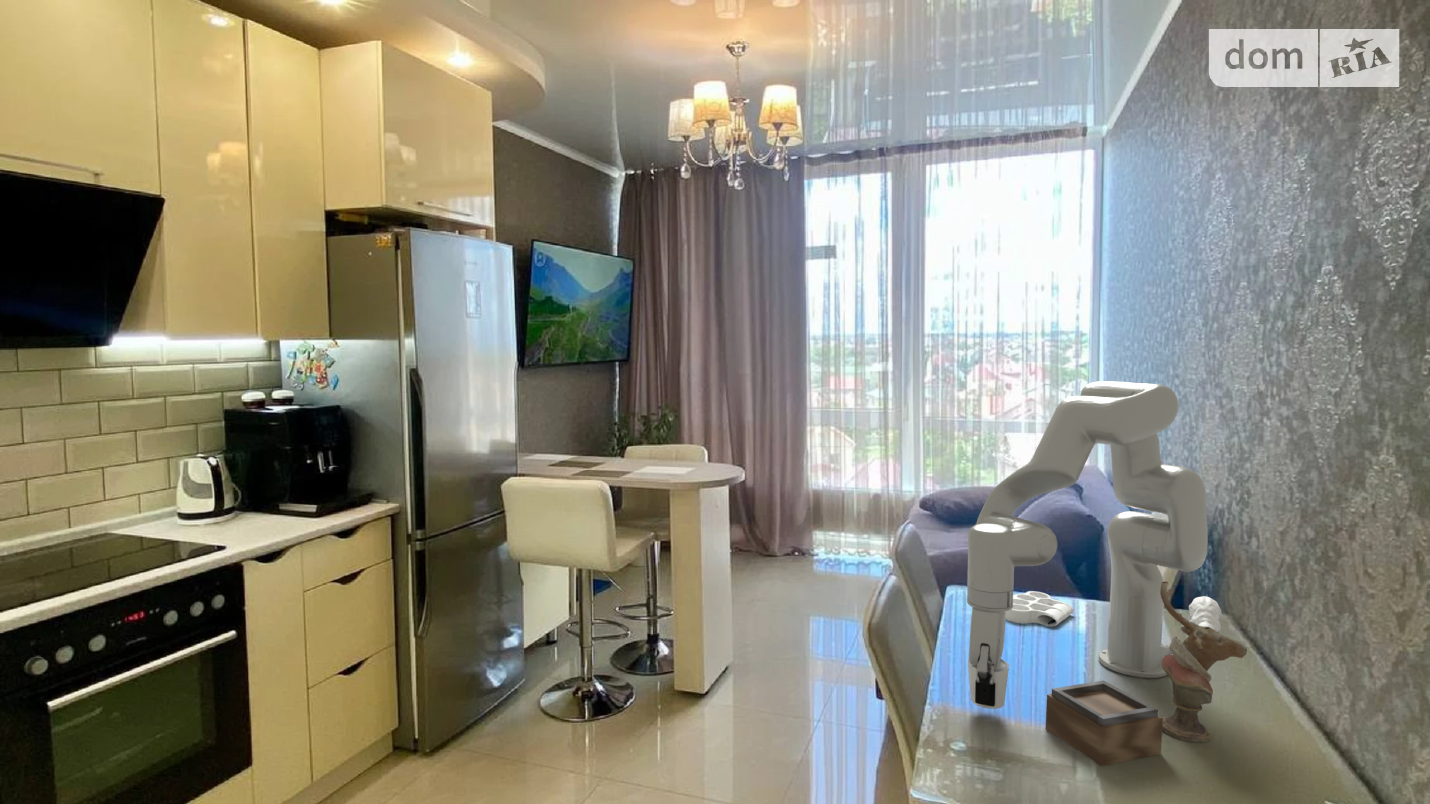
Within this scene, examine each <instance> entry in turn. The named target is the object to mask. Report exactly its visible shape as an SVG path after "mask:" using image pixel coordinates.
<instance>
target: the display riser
mask: <svg viewBox="0 0 1430 804" xmlns="http://www.w3.org/2000/svg"><path fill="white" fill-rule="evenodd" d="M1045 708H1046V709H1045V710H1046V711H1045V730H1047V732H1050V733H1051V734H1052V735H1054V736H1056V737H1057V738H1059V739H1060V740H1061V741H1063V742H1064V743H1066V744H1068V745H1069V746H1071V747H1072V748H1074V749H1075V750H1077V751H1078V752H1079V753H1081V754H1083V755H1084V756H1086V757H1087V758H1089V759H1090V760H1091V761H1093V762H1095V763H1096V764H1098V765H1099V766H1102V767H1104V766H1106V765H1107V766H1108V765H1112V764H1118V763H1122V762H1127V761H1132V760H1136V759H1143V758H1147V757H1153V756H1158V755H1161V754H1162V741H1163V739H1162V738H1163V729H1162V724H1163V718H1164V717H1162V716H1161V715H1159V709H1158V708H1156V707H1154V706H1153V705H1151V704H1149V703H1147V702H1145V701H1143V700H1142V699H1139V698H1137V697H1136V696H1134V695H1132V694H1130V693H1127V692H1126V691H1125V690H1123V689H1121V688H1119V687H1117V686H1115V685H1113V684H1111V683H1109V682H1108V681H1105V680H1099V681H1098V680H1097V681H1093V682H1085V683H1080V684H1072V685H1067V686H1059V687H1053V688H1051V693H1048V694H1047V695H1046V707H1045Z"/></svg>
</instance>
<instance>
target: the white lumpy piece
mask: <svg viewBox="0 0 1430 804" xmlns="http://www.w3.org/2000/svg"><path fill="white" fill-rule="evenodd" d="M1188 610H1189V615H1190V617H1191V619H1190V620H1189V621H1190V622H1193V623H1195V624H1197V625H1199V626H1203V627H1210V628H1212V629H1214V630H1215V631H1216V632H1218V633H1220V632H1221V630H1222V629H1221V627H1222V625H1221V623H1220V621H1219V620H1220V617H1221V615H1222V610H1221V607H1220V606H1219V603H1218V602H1217V601H1216V600H1214V599H1213V598H1211V597H1209V596H1204V595H1203V596H1198V597H1195V598H1194V599H1193V600H1192V602H1191V603H1190V604H1189V605H1188Z"/></svg>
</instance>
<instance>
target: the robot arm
mask: <svg viewBox="0 0 1430 804" xmlns="http://www.w3.org/2000/svg"><path fill="white" fill-rule="evenodd" d="M1178 412H1179V400H1178V397H1177V395H1176V393H1175V392H1174V391H1173V390H1172V389H1171V388H1170V387H1169V386H1167V385H1164V384H1159V383H1145V382H1142V383H1141V382H1130V381H1129V382H1128V381H1115V380H1114V381H1113V380H1112V381H1110V380H1106V381H1105V380H1103V381H1102V380H1100V381H1092V382H1090V383H1087V384H1086V385H1085V386H1084V387H1083V388H1082V389H1081V391H1080V395H1073V396H1069V397H1066V398H1064V399H1063V400H1061V401H1060V402H1059V403H1058V405H1057V407H1056V408H1055V410H1054V412H1053V414H1052V416H1051V418H1050V420H1049V422H1048V424H1047V426H1046V429H1045V431H1044V433H1043V435H1042V437H1041V439H1040V440H1039V442H1038V445H1037V447H1036V449H1035V452H1034V454H1033V455H1032V458H1031V459H1030V461H1029V462H1027V463H1026V464H1025V465H1023V466H1022V467H1020V468H1018V469H1016V470H1015V471H1014V472H1013V473H1012V472H1011V474H1009V475H1008V476H1007V477H1006V478H1004V479H1003V480H1001V481H1000V483H998V484H997V485H996V486H995V487H994V488H993V490H992V491H991V492H990V493H989V495H988V496H987V498H986V500H985V502H984V504H983V506H982V509H981V511H980V513H979V515H978V517H977V518H976V519H977V521H976V522H975V525H973V526H971V527H970V528H969V532H968V536H967V538H968V542H967V547H968V548H967V582H966V583H967V586H966V587H967V589H966V590H967V591H966V593H967V594H966V604H967V605H968V606H970V607H971V616H970V627H969V628H970V630H969V646H968V647H969V648H968V659H969V663H970V664H973V663H974V664H975V663H976V661H977V659H978V662H977V676H976V681H975V702H976V703H977V704H982V705H987V706H992V707H993V706H995V685H996V683H994V671H995V668H996V667H998V666H999V663H1000V660H1001V659H1002V657H1003V653H1004V646H1005V641H1006V640H1005V637H1006V620H1007V619H1006V611H1008V610H1010V609H1012V608H1013V595H1014V580H1015V579H1014V576H1015V574H1014V573H1015V572H1014V571H1015V567H1035V566H1041V565H1043V564H1046V563H1048V562H1050V560H1052V559H1053V557H1054V556H1055V554H1056V552H1057V550H1058V549H1057V548H1058V540H1057V536H1056V535H1055V533H1054V531H1053V530H1052V529H1051V528H1050V527H1048V526H1046V525H1044V524H1042V523H1039V522H1035V521H1032V520H1027V519H1023V518H1021V517H1020V518H1019V517H1017V516H1013V515H1014V513H1015V512H1016V511H1017V509H1019V507H1020V506H1021V505H1023V504H1024V503H1026V502H1027V501H1028V500H1030V499H1032V498H1035V497H1038V496H1040V495H1043V494H1047V493H1051V492H1054V491H1059V490H1062V489H1065V488H1070V487H1072V486H1074V485H1075V484H1076V483H1077V482H1078V480H1079V479H1080V477H1081V474H1082V472H1083V470H1084V468H1085V465H1086V463H1087V461H1088V458H1089V457H1090V454H1091V453H1092V450H1093V449H1094V447H1095V445H1097V444H1099V445H1100V444H1101V445H1109V446H1110V453H1111V455H1110V456H1111V457H1110V458H1111V469H1112V470H1111V471H1112V484H1113V485H1112V486H1113V492H1114V496H1115V498H1116V500H1117V501H1118V502H1119V503H1120V504H1121V505H1123V506H1126V507H1129V508H1133V509H1138V510H1142V511H1135V510H1134V511H1133V510H1130V511H1128V510H1127V511H1122V512H1119V513H1118V514H1116V515H1114V516H1113V517H1112V518H1111V520H1110V521H1109V524H1108V528H1107V541H1108V546H1109V555H1110V564H1111V565H1110V571H1111V573H1110V593H1109V594H1110V595H1109V612H1108V614H1109V615H1108V629H1107V630H1108V631H1107V632H1108V633H1107V648H1106V649H1102V650H1101V651H1099V652H1098V661H1099V663H1100V664H1101V665H1102V666H1104V667H1106V668H1107V669H1109V670H1111V671H1114V672H1116V673H1119V674H1122V675H1126V676H1131V677H1135V678H1136V677H1137V678H1143V679H1157V678H1158V679H1159V678H1164V677H1166V676H1168V675H1167V674H1166V672H1165V671H1164V670H1163V669H1162V667H1161V661H1162V659H1163V658H1164V656H1166V655H1173V653H1172V650H1171V649H1170V644H1167V645H1164V644H1163V645H1162V640H1163V639H1162V638H1163V637H1162V636H1163V621H1164V620H1163V618H1164V606H1165V605H1164V603H1163V601H1162V598H1161V594H1160V590H1161V584H1162V582H1165V581H1164V578H1163V575H1162V573H1161V570H1160V569H1159V567H1162V568H1163V567H1164V568H1168V569H1171V570H1175V571H1176V570H1177V571H1181V572H1193V571H1196V570H1199V568H1201V567H1202V566H1203V564H1204V563H1205V560H1206V557H1207V553H1208V543H1209V541H1208V540H1209V539H1208V517H1207V516H1208V515H1207V513H1208V512H1207V493H1206V487H1205V484H1204V482H1203V480H1202V477H1201V476H1200V474H1198V473H1197V472H1196V471H1195V470H1193V469H1191V468H1188V467H1185V466H1178V465H1173V464H1167V463H1164V462H1163V460H1162V458H1161V450H1160V449H1161V448H1160V439H1159V436H1158V433H1160V432H1162V431H1165V430H1166V429H1167V428H1168V427H1169V426H1171V425H1172V424H1173V422H1174V420H1175V419H1176V417H1177V415H1178ZM1143 511H1147V512H1153V513H1156V514H1157V513H1158V514H1162V515H1166V516H1167V517H1165V516H1162V515H1156V514H1151V513H1147V512H1143ZM988 661H990V662H992V665H988ZM988 668H989V669H991V672H990V673H989V672H988Z"/></svg>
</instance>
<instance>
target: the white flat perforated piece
mask: <svg viewBox="0 0 1430 804" xmlns="http://www.w3.org/2000/svg"><path fill="white" fill-rule="evenodd" d="M1074 611H1075V609H1074V608H1073V606H1072V605H1070V604H1069V603H1067V602H1064V601H1062V600H1057V599H1053V598H1051V596H1050V595H1049V594H1047V593H1045V592H1040V591H1033V590H1031V591H1030V590H1029V591H1026V592H1025V593H1016V594H1013V608H1012V609H1010V610H1008V611H1006V619H1005V620H1007V621H1009V622H1012V623H1017V624H1029V623H1034V624H1040V625H1043V626H1047V627H1056V626H1058V625H1059V624H1060V623H1061V622H1063V621H1064V620H1065V621H1066V619H1067V618H1068V617H1069V616H1071V615H1073V614H1074ZM1052 620H1055V621H1054V622H1053V623H1050V621H1052ZM1048 623H1049V624H1048Z"/></svg>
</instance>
